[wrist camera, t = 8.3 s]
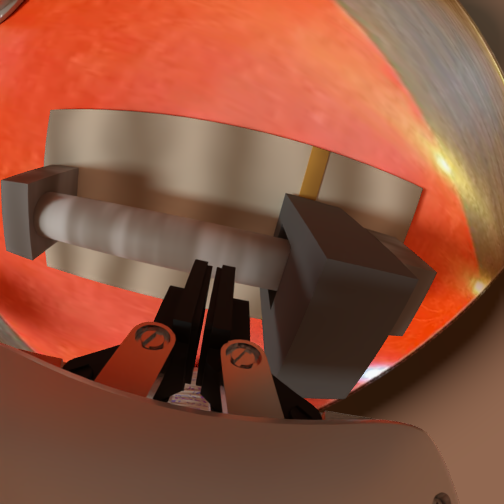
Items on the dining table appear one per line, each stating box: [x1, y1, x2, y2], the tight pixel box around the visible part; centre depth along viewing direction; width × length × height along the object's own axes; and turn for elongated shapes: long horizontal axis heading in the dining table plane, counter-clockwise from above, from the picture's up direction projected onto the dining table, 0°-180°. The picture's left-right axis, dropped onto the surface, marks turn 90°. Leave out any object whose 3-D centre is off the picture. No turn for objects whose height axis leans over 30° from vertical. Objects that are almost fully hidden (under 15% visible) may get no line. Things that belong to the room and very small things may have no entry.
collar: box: [260, 193, 419, 399], centre depth 14 cm, size 4×7×10 cm, turn 166°
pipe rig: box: [1, 109, 437, 336], centre depth 16 cm, size 30×14×7 cm, turn 77°
